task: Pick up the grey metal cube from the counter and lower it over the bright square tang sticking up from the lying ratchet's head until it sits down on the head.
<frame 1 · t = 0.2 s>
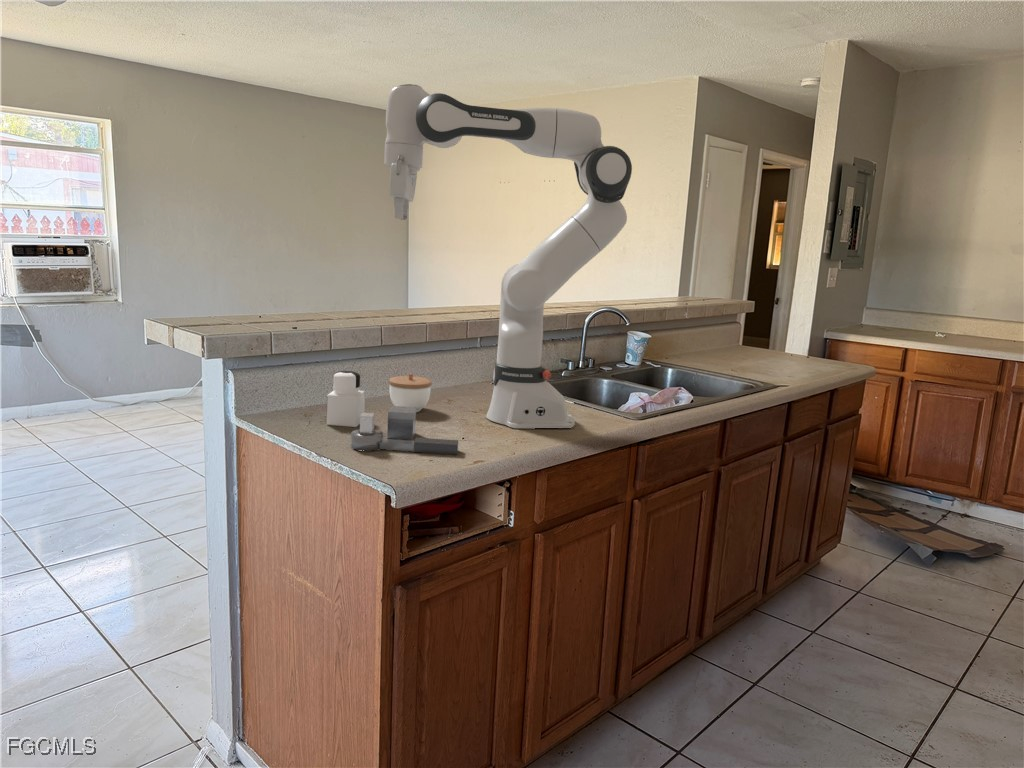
hand: (401, 219, 164), 47 cm above the countertop, tool pointing down, fingers open, 8 cm apart
medicine bottle: (345, 423, 161), on the countertop
grey metal cube: (401, 435, 153), on the countertop
ratchet: (366, 447, 143), on the countertop
lidded jar: (409, 410, 177), on the countertop
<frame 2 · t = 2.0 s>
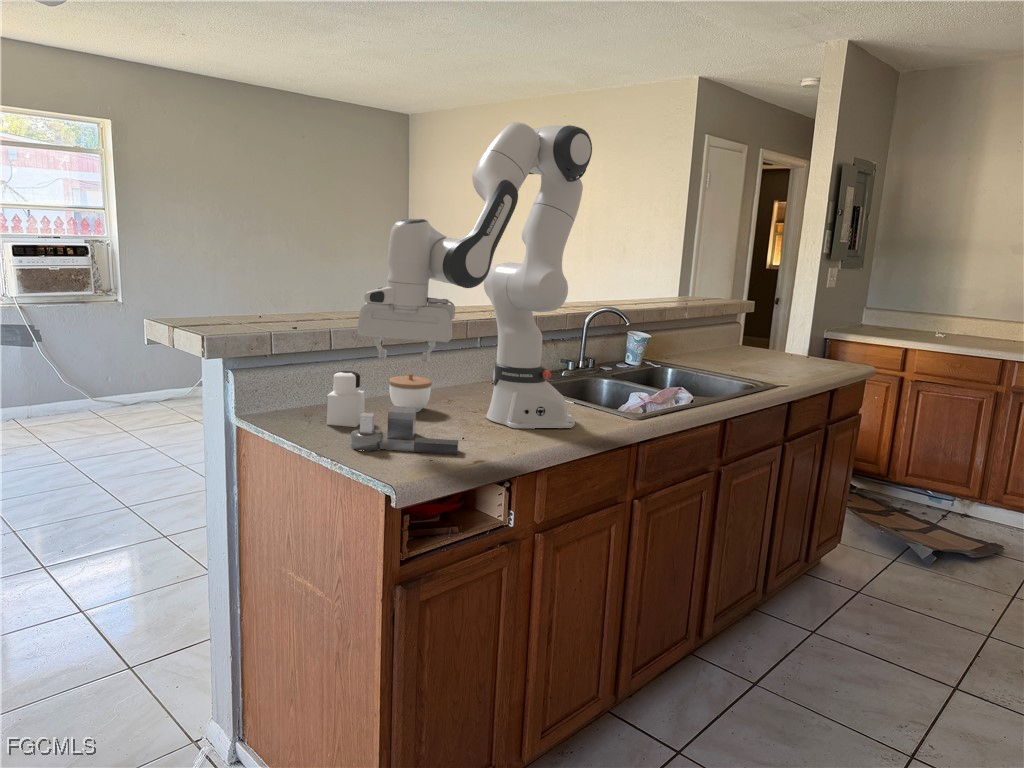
hand: (404, 359, 150), 17 cm above the countertop, tool pointing down, fingers open, 8 cm apart
nothing on the countertop moved.
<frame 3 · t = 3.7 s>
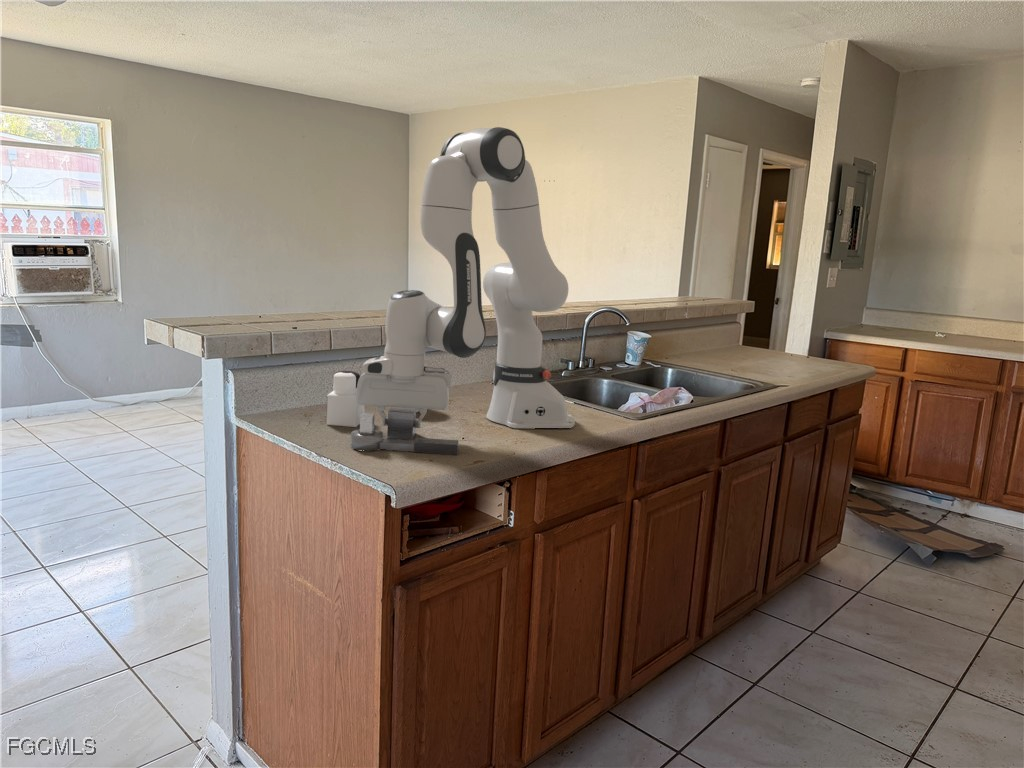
hand: (401, 426, 153), 2 cm above the countertop, tool pointing down, fingers closed on grey metal cube, 5 cm apart
grey metal cube: (401, 435, 153), on the countertop, touching gripper
everything else where it was.
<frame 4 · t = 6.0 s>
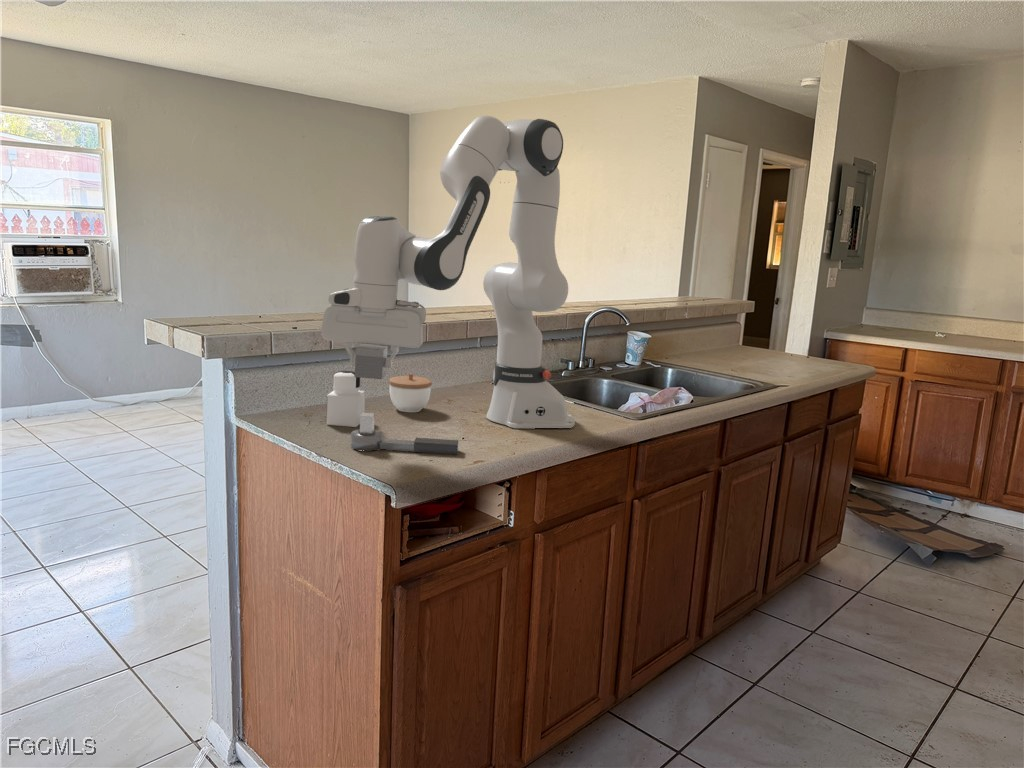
hand: (371, 365, 141), 17 cm above the countertop, tool pointing down, fingers closed on grey metal cube, 5 cm apart
grey metal cube: (370, 375, 141), point 15 cm above the countertop, touching gripper
everything else where it was.
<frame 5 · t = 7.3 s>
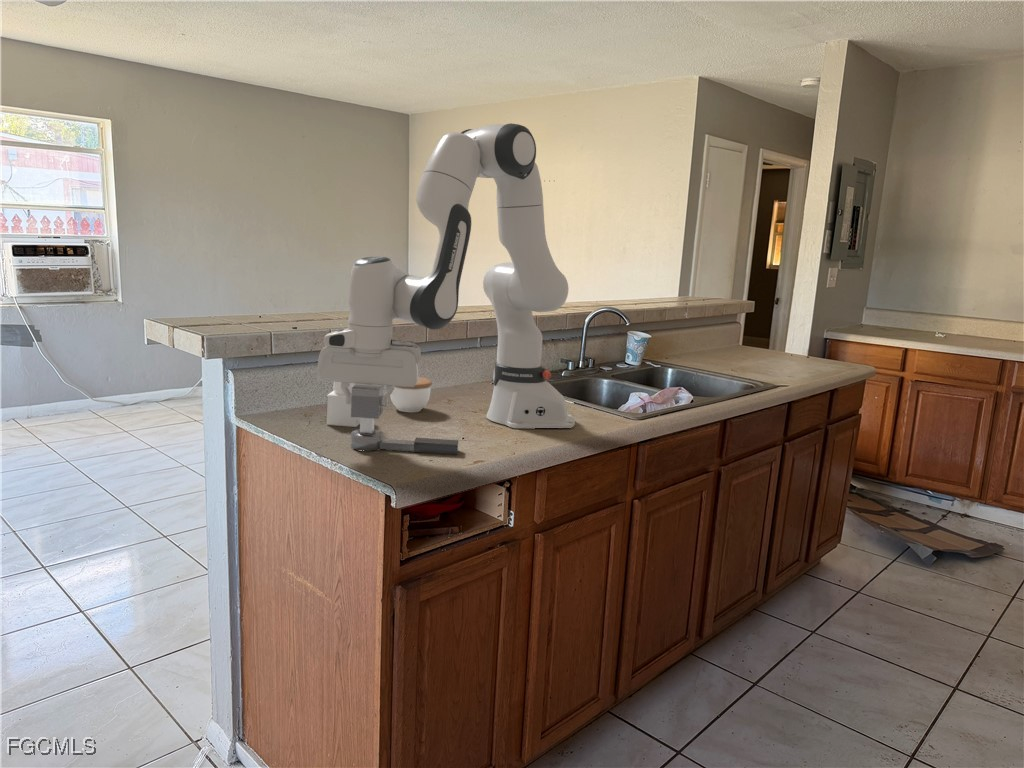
hand: (367, 404, 141), 9 cm above the countertop, tool pointing down, fingers closed on grey metal cube, 5 cm apart
grey metal cube: (367, 414, 142), point 7 cm above the countertop, touching gripper
everything else where it was.
when the fingers open (6 cm above the countertop, at t = 8.4 s): grey metal cube stays where it is, resting on ratchet.
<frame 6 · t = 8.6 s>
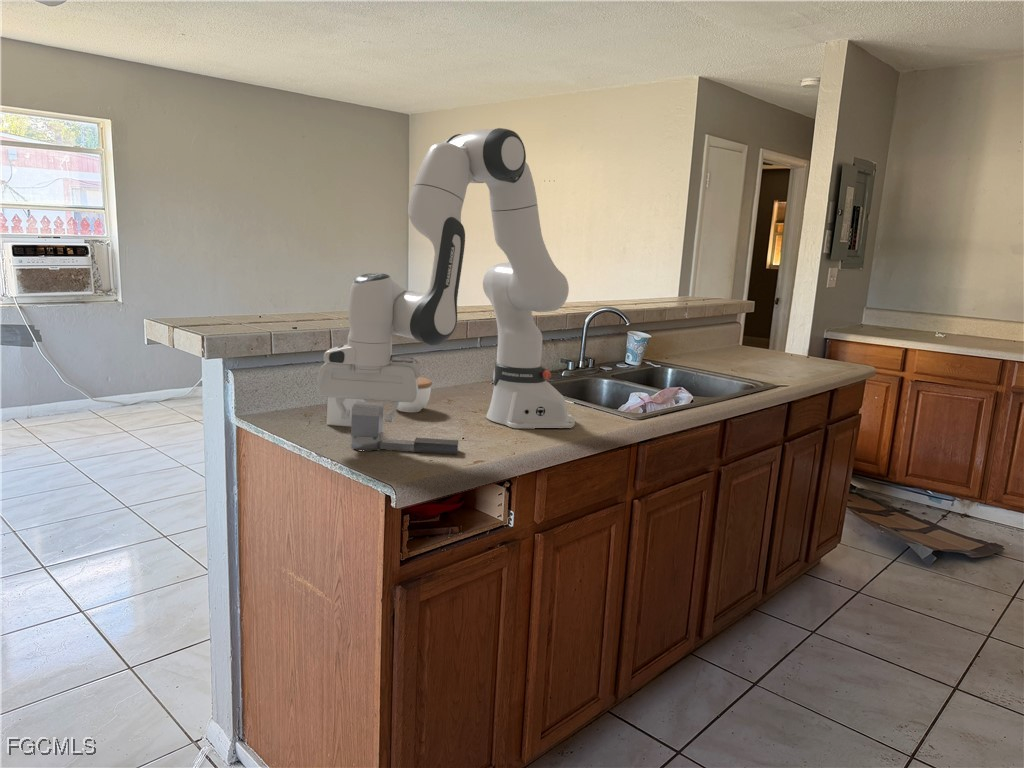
hand: (367, 420, 142), 6 cm above the countertop, tool pointing down, fingers open, 8 cm apart
grey metal cube: (367, 433, 143), point 3 cm above the countertop, touching ratchet
everything else where it was.
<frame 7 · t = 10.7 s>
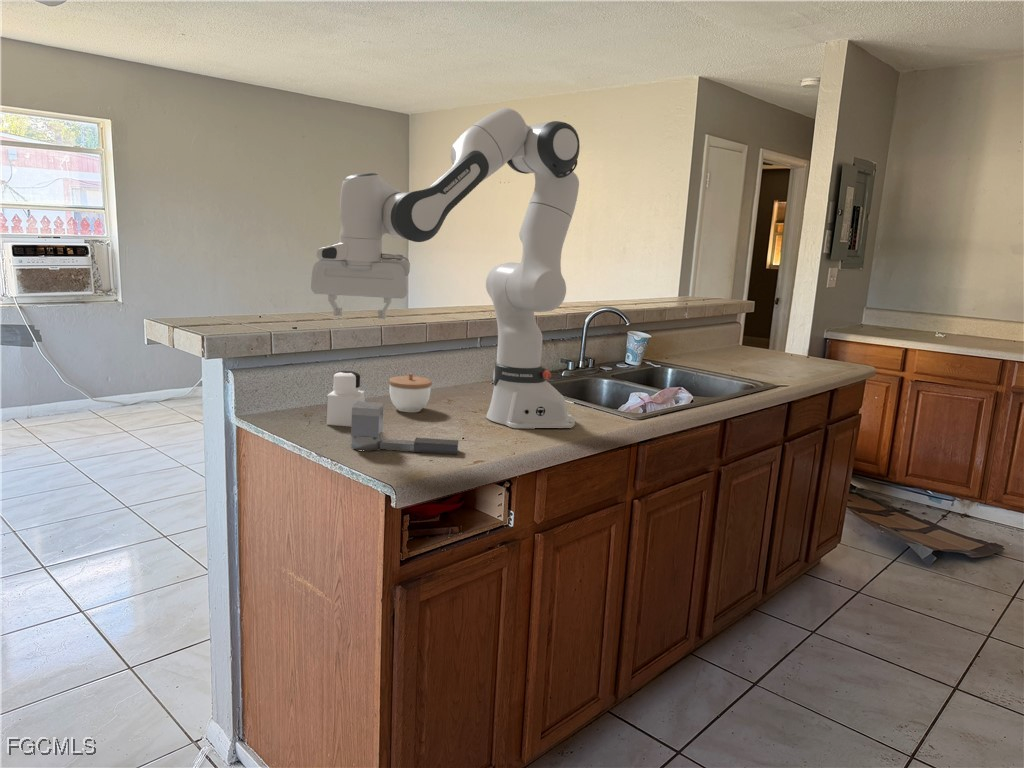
hand: (359, 317, 148), 26 cm above the countertop, tool pointing down, fingers open, 8 cm apart
nothing on the countertop moved.
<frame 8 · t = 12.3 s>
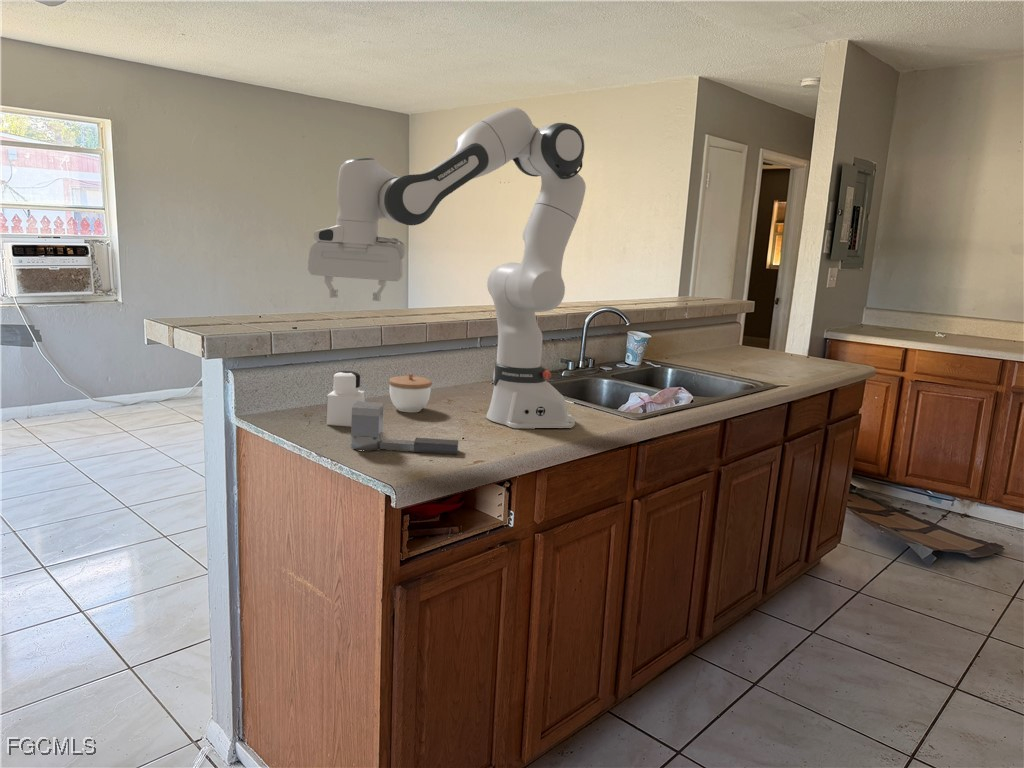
hand: (355, 299, 152), 29 cm above the countertop, tool pointing down, fingers open, 8 cm apart
nothing on the countertop moved.
at the end: grey metal cube 0.0 cm off-centre on the ratchet, point 3.0 cm above the ratchet's base; the gripper is holding nothing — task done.
